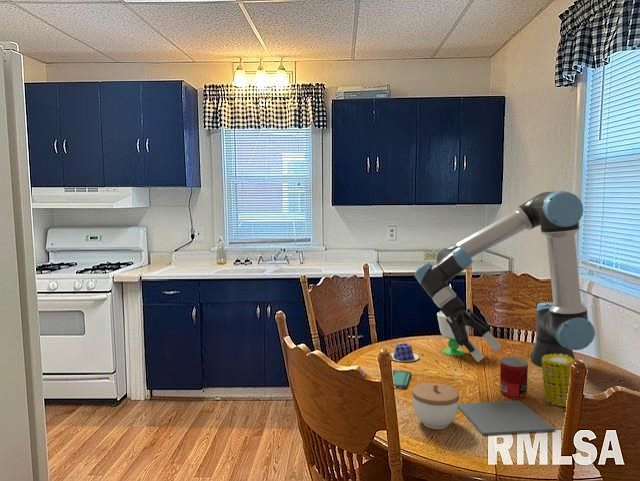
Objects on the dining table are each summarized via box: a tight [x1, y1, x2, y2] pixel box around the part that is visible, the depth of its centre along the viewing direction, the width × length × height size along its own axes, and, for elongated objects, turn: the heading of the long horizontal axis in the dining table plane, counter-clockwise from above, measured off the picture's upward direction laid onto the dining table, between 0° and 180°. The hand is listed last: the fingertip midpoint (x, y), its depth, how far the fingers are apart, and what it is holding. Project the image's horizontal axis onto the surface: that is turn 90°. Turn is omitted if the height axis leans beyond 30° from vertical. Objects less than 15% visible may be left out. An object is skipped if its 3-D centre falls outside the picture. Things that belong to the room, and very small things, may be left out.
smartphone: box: [392, 369, 412, 390], centre depth 161 cm, size 7×1×15 cm
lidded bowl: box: [411, 382, 460, 430], centre depth 129 cm, size 13×13×11 cm
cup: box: [436, 310, 471, 357], centre depth 190 cm, size 14×14×16 cm
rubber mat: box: [458, 400, 556, 436], centre depth 132 cm, size 20×18×1 cm
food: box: [541, 354, 577, 408], centre depth 142 cm, size 15×12×10 cm
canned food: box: [499, 356, 529, 400], centre depth 148 cm, size 8×8×11 cm
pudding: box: [391, 343, 420, 363], centre depth 185 cm, size 12×12×5 cm
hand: (490, 354), depth 152 cm, fingers open, 13 cm apart
